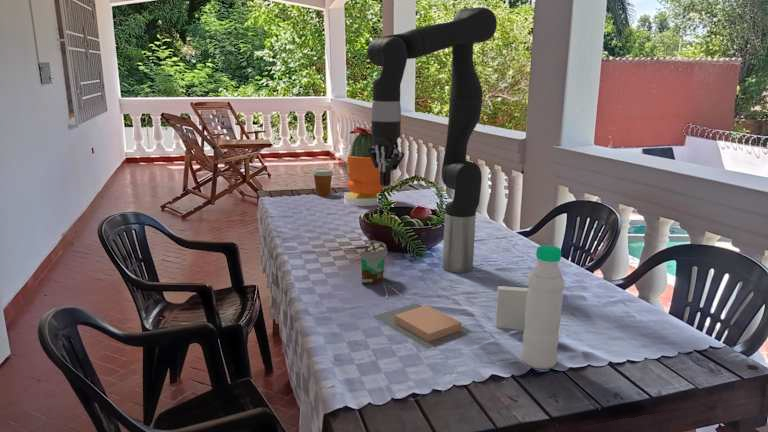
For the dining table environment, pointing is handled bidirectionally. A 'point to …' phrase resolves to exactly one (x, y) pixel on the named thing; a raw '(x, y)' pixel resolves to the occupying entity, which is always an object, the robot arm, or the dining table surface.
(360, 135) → the potted cactus
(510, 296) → the grey tile
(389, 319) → the slate board
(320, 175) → the disposable coffee cup
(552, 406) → the dining table surface
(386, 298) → the tweezers
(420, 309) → the terracotta tile
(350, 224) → the dining table surface
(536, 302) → the water bottle
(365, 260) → the food container
